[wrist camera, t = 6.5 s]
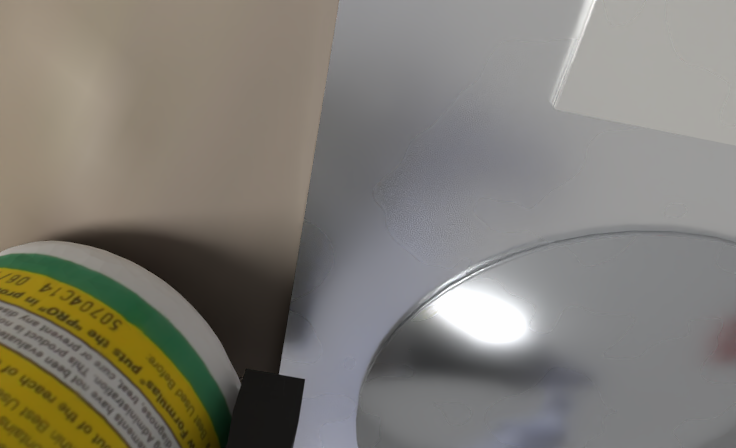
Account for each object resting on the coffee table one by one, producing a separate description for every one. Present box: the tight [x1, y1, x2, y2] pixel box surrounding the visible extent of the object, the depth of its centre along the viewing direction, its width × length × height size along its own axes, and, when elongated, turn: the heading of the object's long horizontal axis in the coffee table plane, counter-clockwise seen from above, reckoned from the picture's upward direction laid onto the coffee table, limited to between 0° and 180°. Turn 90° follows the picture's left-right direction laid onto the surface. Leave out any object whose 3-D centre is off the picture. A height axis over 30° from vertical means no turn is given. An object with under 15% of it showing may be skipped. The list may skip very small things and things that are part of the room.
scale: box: [279, 0, 736, 448], centre depth 11 cm, size 15×12×1 cm
